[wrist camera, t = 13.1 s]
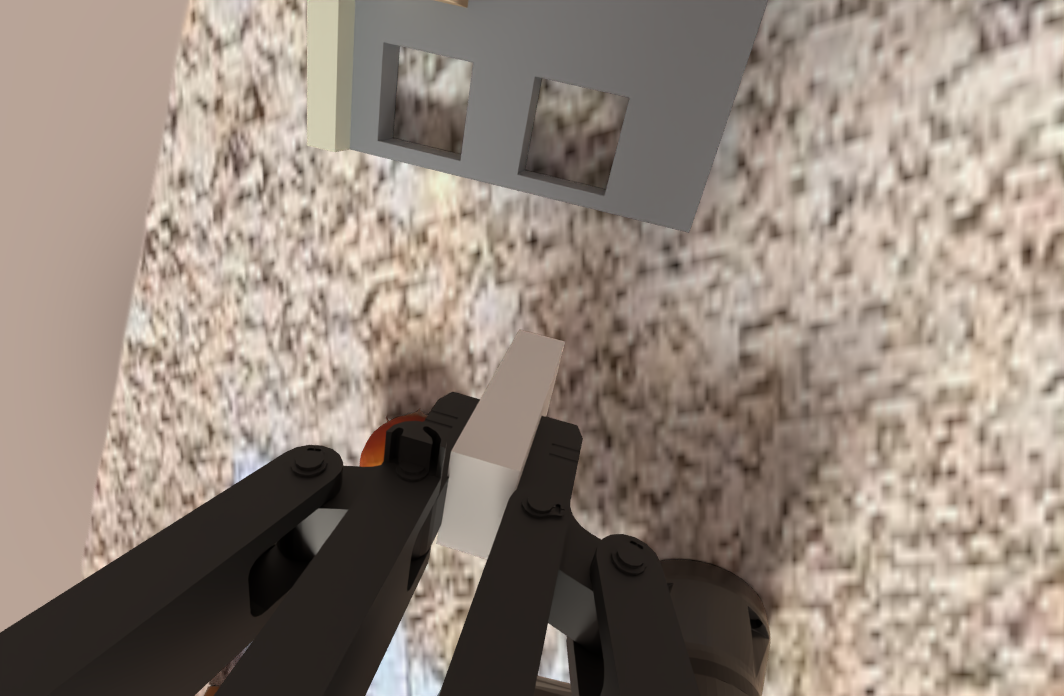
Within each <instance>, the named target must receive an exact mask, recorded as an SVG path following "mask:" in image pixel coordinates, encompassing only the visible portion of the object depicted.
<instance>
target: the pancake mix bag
mask: <svg viewBox="0 0 1064 696" xmlns="http://www.w3.org/2000/svg"><path fill="white" fill-rule="evenodd" d="M219 687H220V686H210V687H208V688H207V690H206V692H205V694H204V696H214V694H215V693H216V692H217V690H218V689H219Z"/></svg>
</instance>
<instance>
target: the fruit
mask: <svg viewBox="0 0 1064 696" xmlns="http://www.w3.org/2000/svg"><path fill="white" fill-rule="evenodd" d="M426 417H427V415H425V414H424V413H423V412H422V411H421V410H420V409H419V410H418V411H417V412H415V413H411V414H408V415H405V416H400V417H396V418H394V419H392V420H390V421H389V420H388V419H387V417H386V419H387V423H385V424H383V425H382V426H380V427H379V428H378V429H377V430H376V431H374V432H373V434H372V435H371V436H370V438H369V439H368V441H367V443H366V445H365V447H364V449H363V451H362V453H361V458H360V467H373V466H378V465H381V464H382V463H383V461H384V450H385V439H386V431H387V430H388V429H389V428H390V427H392V426H393V425H395V424H398V423H401V422H404V421H421V422H423V421H425V418H426Z"/></svg>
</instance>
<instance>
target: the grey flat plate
mask: <svg viewBox="0 0 1064 696" xmlns="http://www.w3.org/2000/svg"><path fill="white" fill-rule="evenodd" d="M767 2H768V0H468V7H467V8H465V7H461V6H456V5H452V4H448V3H443V2H439V1H435V0H307V145H308V146H312V147H316V148H320V149H324V150H328V151H332V152H339V151H344V150H349V149H351V150H355V151H359V152H363V153H367V154H371V155H375V156H379V157H383V158H387V159H391V160H395V161H400V162H404V163H408V164H412V165H416V166H420V167H424V168H428V169H432V170H436V171H440V172H444V173H448V174H452V175H456V176H461V177H465V178H469V179H473V180H477V181H481V182H485V183H489V184H493V185H497V186H501V187H505V188H509V189H513V190H517V191H522V192H526V193H530V194H534V195H538V196H542V197H546V198H550V199H554V200H558V201H562V202H566V203H570V204H574V205H578V206H583V207H587V208H591V209H595V210H599V211H603V212H607V213H611V214H615V215H619V216H623V217H627V218H631V219H635V220H640V221H644V222H648V223H652V224H656V225H660V226H664V227H668V228H672V229H676V230H680V231H684V232H688V233H689V232H690V229H691V226H692V223H693V220H694V217H695V214H696V211H697V208H698V205H699V203H700V200H701V197H702V194H703V191H704V188H705V185H706V182H707V179H708V176H709V173H710V170H711V167H712V164H713V161H714V158H715V155H716V152H717V150H718V147H719V144H720V141H721V138H722V135H723V132H724V129H725V126H726V123H727V120H728V117H729V114H730V111H731V108H732V105H733V102H734V99H735V97H736V94H737V91H738V88H739V85H740V82H741V79H742V76H743V73H744V70H745V67H746V64H747V61H748V58H749V55H750V52H751V49H752V46H753V44H754V41H755V38H756V35H757V32H758V29H759V26H760V23H761V20H762V17H763V14H764V11H765V8H766V5H767ZM400 46H402V47H407V48H411V49H416V50H420V51H425V52H429V53H434V54H438V55H442V56H447V57H451V58H456V59H460V60H465V61H469V62H473V68H472V76H471V84H470V92H469V99H468V107H467V115H466V123H465V130H464V138H463V146H462V153H461V154H457V153H453V152H449V151H445V150H441V149H437V148H432V147H428V146H424V145H420V144H416V143H412V142H408V141H404V140H399V139H395V138H393V131H394V117H395V103H396V89H397V75H398V61H399V47H400ZM542 78H544V79H549V80H553V81H558V82H562V83H567V84H571V85H575V86H580V87H584V88H589V89H593V90H598V91H602V92H606V93H611V94H615V95H620V96H624V97H629V102H628V106H627V110H626V114H625V118H624V122H623V126H622V129H621V133H620V137H619V141H618V145H617V149H616V153H615V157H614V161H613V165H612V168H611V172H610V176H609V180H608V184H607V188H606V189H602V188H598V187H594V186H589V185H585V184H581V183H577V182H573V181H569V180H565V179H561V178H556V177H552V176H548V175H544V174H540V173H536V172H532V171H527V170H525V167H526V162H527V156H528V151H529V146H530V140H531V135H532V129H533V124H534V118H535V113H536V108H537V102H538V97H539V91H540V86H541V80H542Z"/></svg>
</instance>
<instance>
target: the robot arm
mask: <svg viewBox="0 0 1064 696" xmlns="http://www.w3.org/2000/svg"><path fill="white" fill-rule="evenodd" d="M564 345H565V341H561V340H557V339H554V338H550V337H546V336H542V335H539V334H535V333H531V332H528V331H524V330H519V331H518V333H517V335H516V337H515V338H514V340H513V342H512V344H511V346H510V347H509V349H508V351H507V353H506V354H505V356H504V358H503V360H502V362H501V363H500V365H499V367H498V369H497V371H496V372H495V374H494V376H493V378H492V379H491V381H490V383H489V385H488V387H487V388H486V390H485V392H484V394H483V395H482V397H481V399H477V398H473V397H469V396H466V395H462V394H459V393H455V392H451V393H449V394H448V395H446V396H444V397H442V398H440V399H439V400H438V401H437V403H436V404H435V406H434V407H433V408H432V410H431V412H430V413H429V414H428V416H427V417H426V418H425V421H423V422H421V421H404V422H401V423H398V424H395V425H393V426H392V427H390V428H389V429H388V430H387V431H386V439H385V450H384V461H383V463H382V464H381V465H378V466H373V467H357V466H343V461H342V459H341V456H340V455H339V454H338V453H337V452H335V451H334V450H333V449H331V448H328V447H325V446H319V445H306V446H301V447H296V448H294V449H292V450H289V451H287V452H285V453H284V454H282V455H280V456H279V457H277V458H276V459H274V460H272V461H271V462H269V463H268V464H266V465H265V466H263V467H261V468H260V469H258V470H257V471H255V472H254V473H252V474H250V475H249V476H247V477H246V478H244V479H242V480H241V481H239V482H238V483H236V484H235V485H233V486H231V487H230V488H228V489H227V490H225V491H223V492H222V493H220V494H219V495H217V496H216V497H214V498H212V499H211V500H209V501H208V502H206V503H204V504H203V505H201V506H200V507H198V508H197V509H195V510H193V511H192V512H190V513H189V514H187V515H186V516H184V517H182V518H181V519H179V520H178V521H176V522H174V523H173V524H171V525H170V526H168V527H167V528H165V529H163V530H162V531H160V532H159V533H157V534H155V535H154V536H152V537H151V538H149V539H148V540H146V541H144V542H143V543H141V544H140V545H138V546H136V547H135V548H133V549H132V550H130V551H129V552H127V553H125V554H124V555H122V556H121V557H119V558H118V559H116V560H114V561H113V562H111V563H110V564H108V565H106V566H105V567H103V568H102V569H100V570H99V571H97V572H95V573H94V574H92V575H91V576H89V577H87V578H86V579H84V580H83V581H81V582H80V583H78V584H76V585H75V586H73V587H72V588H70V589H68V590H67V591H65V592H64V593H62V594H61V595H59V596H57V597H56V598H55V599H53V600H51V601H50V602H48V603H46V604H45V605H43V606H42V607H40V608H38V609H37V610H36V611H34V612H32V613H31V614H29V615H27V616H26V617H24V618H23V619H21V620H20V621H18V622H16V623H15V624H13V625H12V626H10V627H8V628H7V629H5V630H4V631H2V632H1V633H0V696H194V695H195V694H197V693H198V692H199V691H200V690H201V689H202V688H203V687H204V686H205V685H206V684H207V683H208V682H209V681H210V680H211V679H212V678H214V677H215V676H216V675H217V674H218V673H219V672H220V671H221V670H222V669H223V668H224V667H225V666H226V665H227V664H228V663H229V662H231V661H232V660H233V659H234V658H235V657H236V656H237V655H238V654H239V653H240V652H241V651H242V650H243V649H244V648H245V647H247V646H248V645H249V644H250V643H251V642H252V641H253V640H254V641H253V642H252V643H251V645H250V646H249V647H248V649H247V650H246V652H245V653H244V654H243V656H242V657H241V658H240V660H239V661H238V663H237V664H236V665H235V667H234V668H233V669H232V671H231V672H230V674H229V675H228V676H227V678H226V679H225V680H224V682H223V683H222V685H221V686H220V687H219V689H218V690H217V692H216V693H215V694H214V696H365V695H366V693H367V691H368V689H369V686H370V684H371V682H372V680H373V678H374V676H375V674H376V672H377V670H378V667H379V665H380V663H381V661H382V659H383V657H384V655H385V653H386V651H387V648H388V646H389V644H390V642H391V640H392V638H393V636H394V634H395V631H396V629H397V627H398V625H399V623H400V621H401V619H402V617H403V615H404V612H405V610H406V608H407V606H408V604H409V602H410V600H411V598H412V596H413V593H414V591H415V589H416V587H417V585H418V583H419V581H420V579H421V577H422V574H423V572H424V570H425V568H426V566H427V564H428V560H429V556H430V550H431V545H432V543H433V541H434V539H435V537H436V535H437V532H438V537H437V543H436V544H438V545H441V546H445V547H448V548H451V549H454V550H458V551H461V552H464V553H467V554H470V555H474V556H477V557H480V558H483V559H487V562H486V565H485V568H484V570H483V573H482V576H481V579H480V582H479V584H478V587H477V590H476V593H475V596H474V598H473V601H472V604H471V607H470V610H469V612H468V615H467V618H466V621H465V624H464V626H463V629H462V632H461V635H460V638H459V640H458V643H457V646H456V649H455V652H454V655H453V657H452V660H451V663H450V666H449V669H448V671H447V674H446V677H445V680H444V683H443V685H442V688H441V690H440V692H439V693H438V695H437V696H762V692H763V686H764V680H765V674H766V667H767V661H768V655H769V649H770V630H769V625H768V621H767V616H766V611H765V608H764V605H763V603H762V601H761V599H760V598H759V596H758V595H757V594H756V592H755V591H754V590H753V589H752V588H751V587H750V586H749V585H748V584H747V583H746V582H744V581H743V580H742V579H740V578H739V577H737V576H736V575H734V574H732V573H730V572H729V571H726V570H724V569H722V568H719V567H717V566H714V565H711V564H707V563H703V562H698V561H690V560H665V561H659V559H658V557H657V555H656V553H655V552H654V551H653V550H652V549H651V548H650V547H649V546H648V545H647V544H645V543H644V542H642V541H640V540H639V539H637V538H635V537H632V536H628V535H624V534H614V535H610V536H607V537H605V538H603V539H602V540H601V539H599V538H597V537H596V536H594V535H592V534H591V533H589V532H588V531H587V530H585V529H584V528H583V527H582V526H581V525H580V524H579V523H578V522H577V521H576V520H575V518H574V516H573V515H572V512H571V508H570V500H571V495H572V490H573V485H574V480H575V475H576V470H577V465H578V460H579V454H580V449H581V444H582V439H583V438H582V436H581V433H580V431H579V428H578V426H577V425H573V424H570V423H566V422H563V421H559V420H556V419H552V418H549V417H546V416H547V413H548V409H549V405H550V401H551V397H552V393H553V389H554V385H555V381H556V377H557V373H558V369H559V365H560V361H561V357H562V353H563V349H564ZM438 530H439V531H438ZM548 623H549V624H551V625H552V626H553V627H555V628H556V629H558V630H559V631H561V632H562V633H564V634H565V635H567V640H566V642H567V652H568V663H569V673H570V683H571V684H570V683H566V682H562V681H558V680H554V679H549V678H545V677H541V676H538V671H539V665H540V660H541V655H542V650H543V645H544V640H545V635H546V630H547V625H548Z"/></svg>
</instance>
